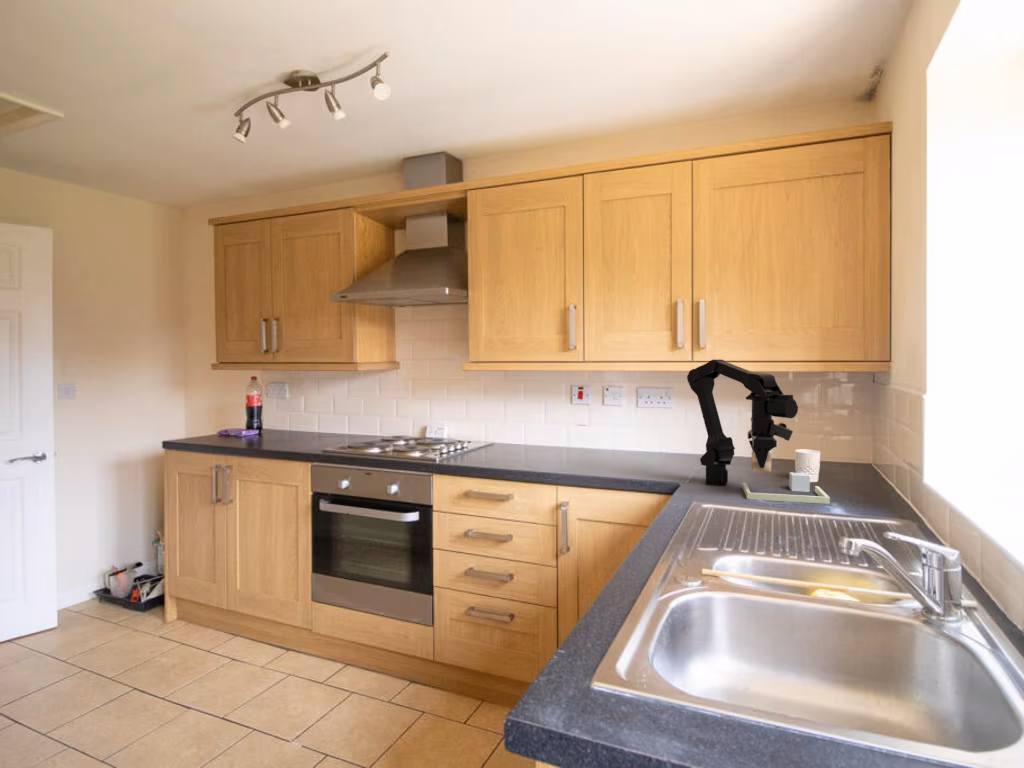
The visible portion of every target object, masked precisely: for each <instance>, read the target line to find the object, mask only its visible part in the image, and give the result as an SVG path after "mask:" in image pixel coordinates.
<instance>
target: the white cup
mask: <svg viewBox="0 0 1024 768" xmlns="http://www.w3.org/2000/svg"><path fill="white" fill-rule="evenodd" d="M821 452H822V451H820V450H815V449H804V448H803V449H800V448H799V449H794V470H795V473H807V474H808V475H809V476H810V483H817V482H818V481H819V474H820V468H821V467H820V466H821V465H820V464H821Z"/></svg>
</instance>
